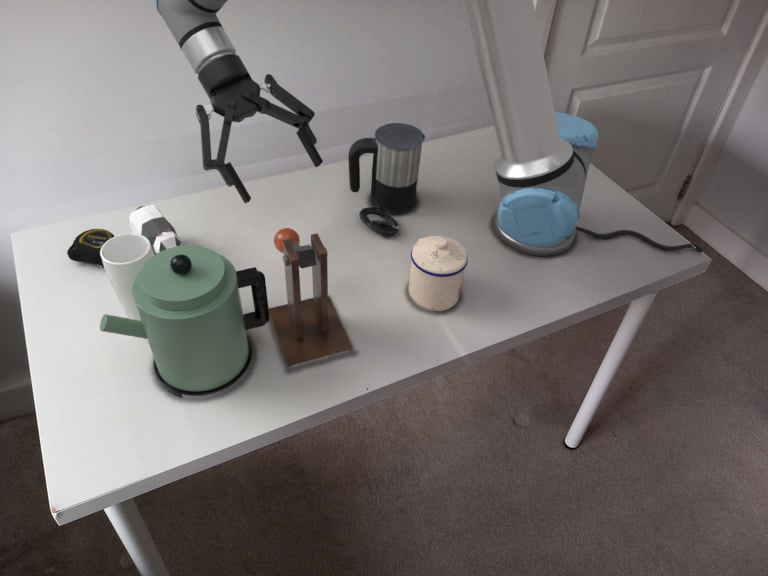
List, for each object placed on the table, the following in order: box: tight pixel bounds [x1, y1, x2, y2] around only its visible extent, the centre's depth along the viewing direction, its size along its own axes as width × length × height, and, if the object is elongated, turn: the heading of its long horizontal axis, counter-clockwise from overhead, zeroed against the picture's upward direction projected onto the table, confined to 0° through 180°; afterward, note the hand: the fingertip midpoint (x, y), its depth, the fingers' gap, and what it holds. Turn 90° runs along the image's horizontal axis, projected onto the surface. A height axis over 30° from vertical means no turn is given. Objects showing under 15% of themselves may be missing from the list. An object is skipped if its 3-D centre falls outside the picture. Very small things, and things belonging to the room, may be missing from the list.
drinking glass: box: [100, 232, 154, 321], centre depth 88 cm, size 7×7×15 cm
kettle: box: [99, 244, 271, 399], centre depth 81 cm, size 22×14×20 cm, turn 112°
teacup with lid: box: [407, 235, 469, 312], centre depth 97 cm, size 12×9×12 cm
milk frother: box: [347, 122, 426, 237], centre depth 111 cm, size 14×16×15 cm
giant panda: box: [128, 204, 183, 255], centre depth 99 cm, size 15×6×10 cm, turn 38°
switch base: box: [269, 232, 353, 367], centre depth 87 cm, size 12×10×18 cm
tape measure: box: [66, 228, 115, 267], centre depth 101 cm, size 7×7×4 cm
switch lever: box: [273, 227, 317, 269], centre depth 87 cm, size 15×4×4 cm, turn 22°
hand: (284, 182), depth 98 cm, fingers open, 13 cm apart
